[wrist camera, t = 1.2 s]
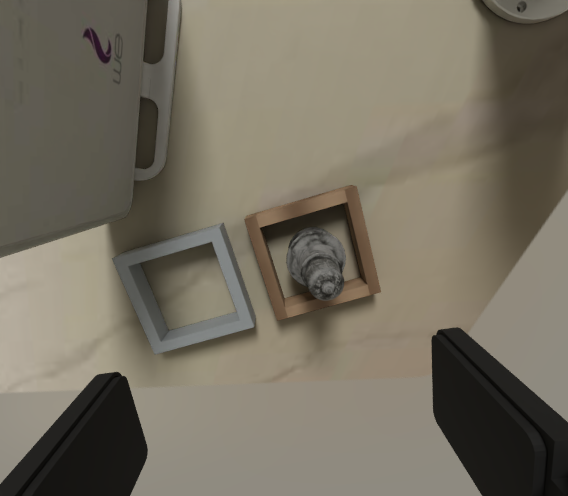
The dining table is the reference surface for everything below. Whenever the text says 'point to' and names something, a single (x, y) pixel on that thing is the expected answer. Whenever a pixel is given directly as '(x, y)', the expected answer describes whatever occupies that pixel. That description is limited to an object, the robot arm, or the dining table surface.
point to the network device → (75, 113)
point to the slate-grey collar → (149, 308)
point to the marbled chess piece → (317, 262)
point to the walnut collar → (344, 195)
